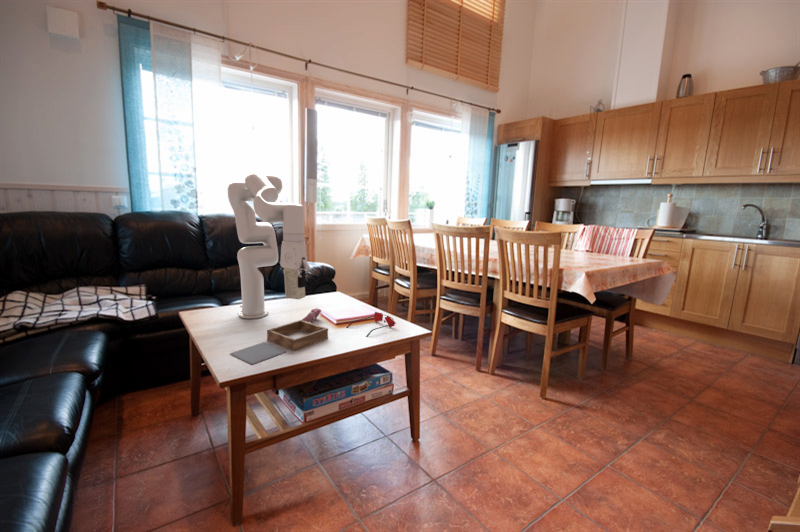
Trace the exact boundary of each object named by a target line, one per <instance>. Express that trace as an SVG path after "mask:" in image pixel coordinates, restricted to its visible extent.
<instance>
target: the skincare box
mask: <svg viewBox="0 0 800 532" xmlns="http://www.w3.org/2000/svg"><path fill="white" fill-rule="evenodd" d="M300 268H302V267H300ZM301 273H302V270H301ZM298 277H299V275H298V272H297V270H291V269H287V268H285V267H284V274H283V279H284V278H285V284H284V292H285V293H284V294H285V295H284V297H285V299H290V300H291V299H292V300H302V299H304V298H305V297H306V286H305V287H302V288H298Z"/></svg>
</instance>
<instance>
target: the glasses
mask: <svg viewBox="0 0 800 532" xmlns="http://www.w3.org/2000/svg"><path fill="white" fill-rule="evenodd" d="M384 316H385V317H384ZM370 318H373V319H374V321H375V322H382V321H383V323H384V324H386V325H383V326H380V327H376V328H373V329H371V330H370V331H369V332H368V333H367V335H366V336H365V337H366V338H368V337H369V335H370V334H371V333H372V332H373V331H376V330H378V329H382V328H386V327H389V328H392V327H394V326H396V324H397V323H396V322H395V319H394V318H393V317H391V316H390V315H386V314H383V313H380V312H378V311H377V312H376V311H374V313H373V315H371V316H369V317H364V318H360V319H357V320H353V321H351V322H350V323H349V324H348V325H347V326H346V329H348V328H349V327H350V326H351V325H352V324H353V323H356V322H358V321H363V320H365V319H370ZM383 319H384V320H383Z"/></svg>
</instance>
